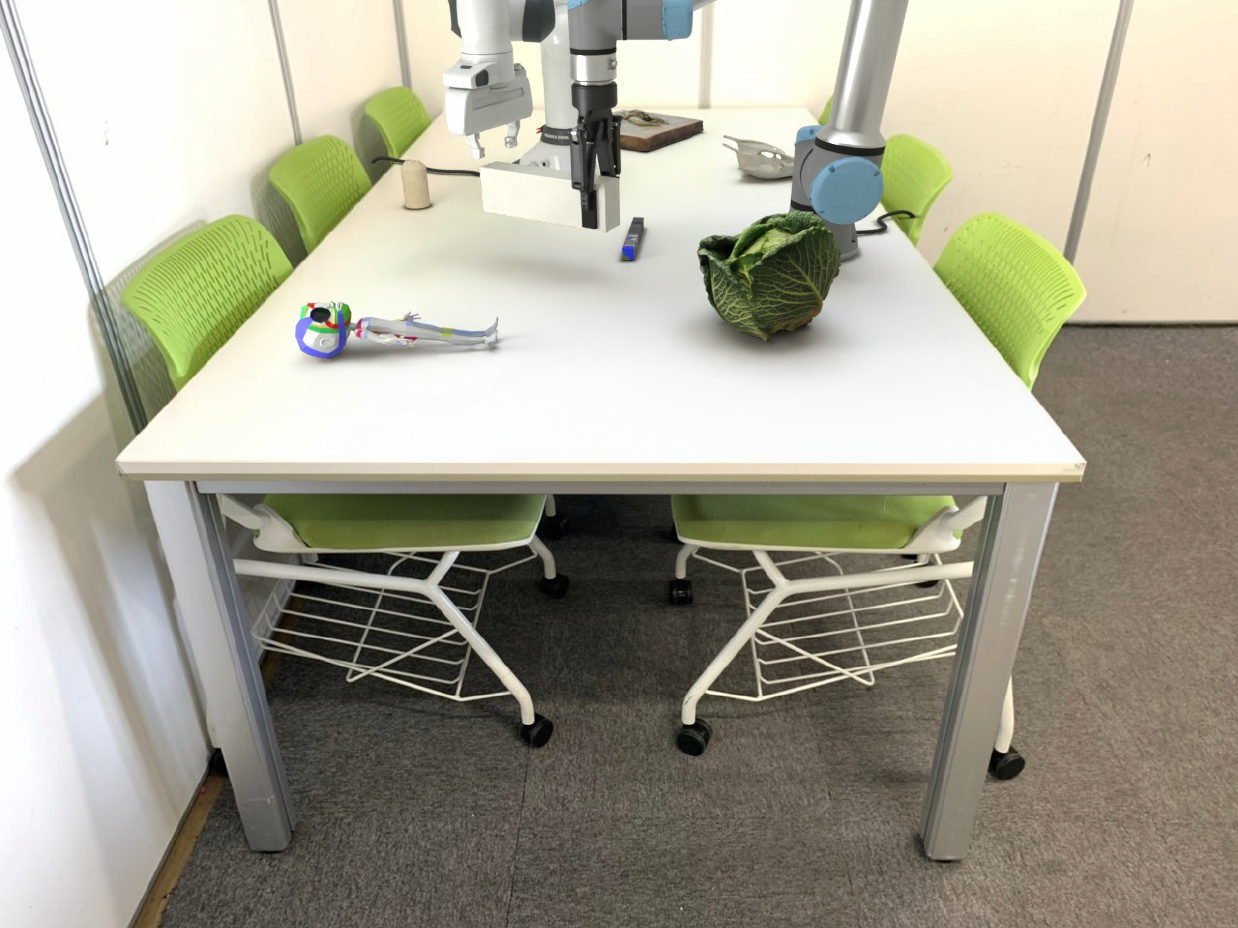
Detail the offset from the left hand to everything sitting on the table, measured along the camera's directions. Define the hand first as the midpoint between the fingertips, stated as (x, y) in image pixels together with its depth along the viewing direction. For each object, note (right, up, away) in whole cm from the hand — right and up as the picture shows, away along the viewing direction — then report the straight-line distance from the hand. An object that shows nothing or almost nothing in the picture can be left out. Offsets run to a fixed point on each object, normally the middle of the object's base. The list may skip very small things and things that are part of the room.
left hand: (495, 152), depth 161 cm
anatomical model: (+60, +14, +59) cm, 85 cm away
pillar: (+25, -12, +17) cm, 33 cm away
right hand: (+19, -14, -4) cm, 23 cm away
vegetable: (+46, -35, -19) cm, 60 cm away
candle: (-23, +2, +42) cm, 48 cm away
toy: (-11, -38, -23) cm, 46 cm away
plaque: (+27, +39, +98) cm, 109 cm away
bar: (+10, -12, +1) cm, 15 cm away
